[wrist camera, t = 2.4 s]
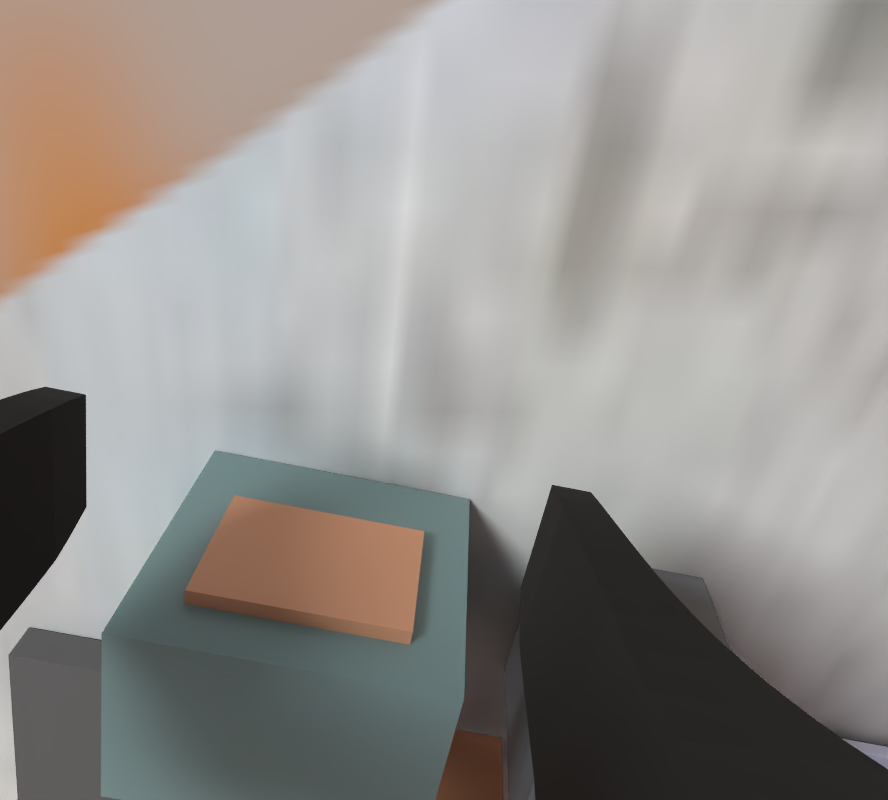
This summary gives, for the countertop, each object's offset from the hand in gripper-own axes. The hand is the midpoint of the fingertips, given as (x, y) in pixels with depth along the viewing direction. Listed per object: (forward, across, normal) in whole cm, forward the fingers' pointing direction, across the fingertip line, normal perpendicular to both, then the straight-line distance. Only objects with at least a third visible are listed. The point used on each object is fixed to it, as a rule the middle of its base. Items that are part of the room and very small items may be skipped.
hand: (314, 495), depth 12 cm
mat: (+5, +4, +12) cm, 14 cm away
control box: (+5, 0, +5) cm, 7 cm away
